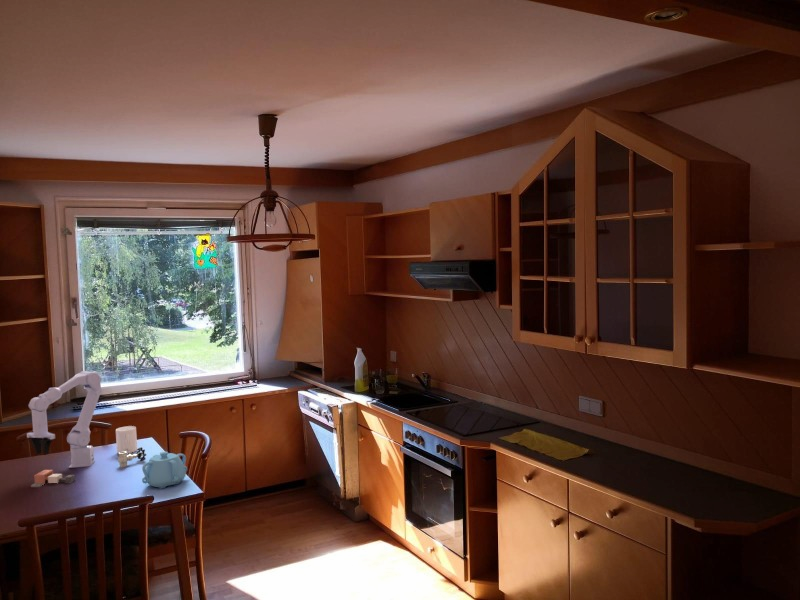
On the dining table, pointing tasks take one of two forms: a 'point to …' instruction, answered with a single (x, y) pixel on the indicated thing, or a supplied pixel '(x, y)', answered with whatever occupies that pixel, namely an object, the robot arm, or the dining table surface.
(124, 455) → the valve
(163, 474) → the decorative pot
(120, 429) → the white cylinder
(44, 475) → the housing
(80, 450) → the robot arm
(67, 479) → the plug
